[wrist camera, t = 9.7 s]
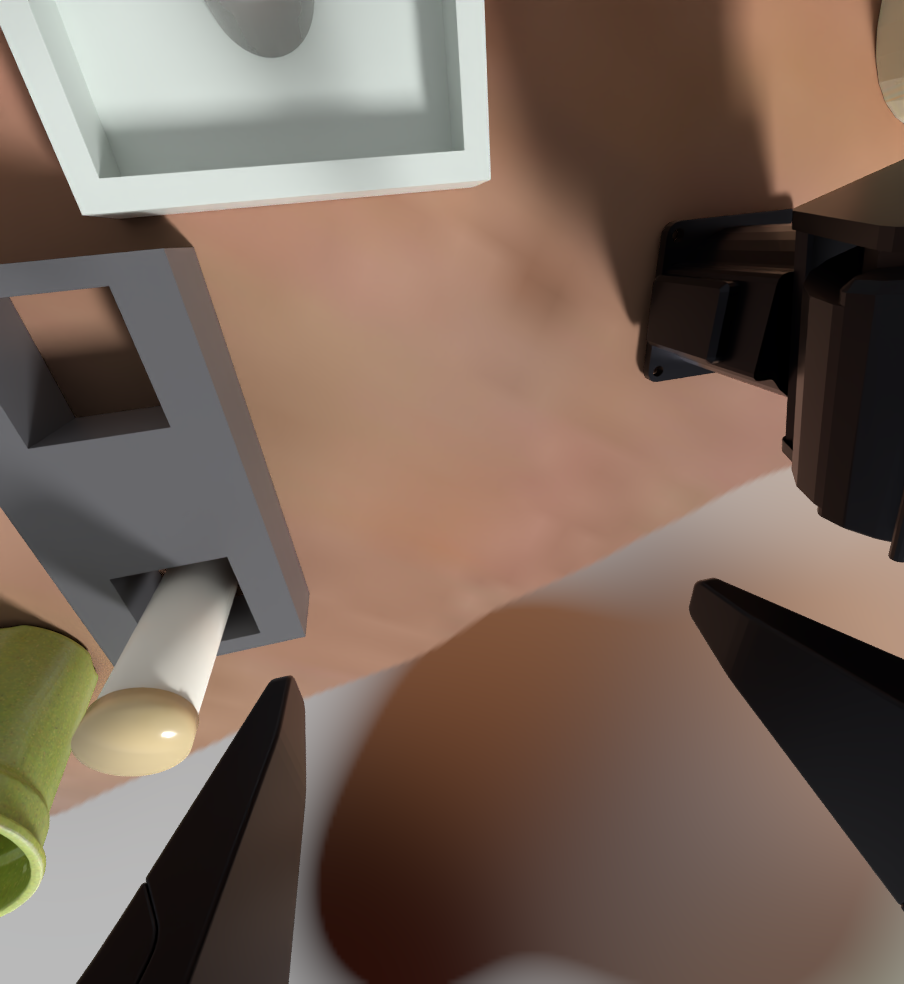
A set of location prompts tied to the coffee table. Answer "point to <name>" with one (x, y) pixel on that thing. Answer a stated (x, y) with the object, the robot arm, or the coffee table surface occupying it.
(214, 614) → the cylinder
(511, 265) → the coffee table surface
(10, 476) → the fuse holder
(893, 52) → the reusable coffee cup
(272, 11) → the cream capped cylinder
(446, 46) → the parts tray
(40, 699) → the plant pot
